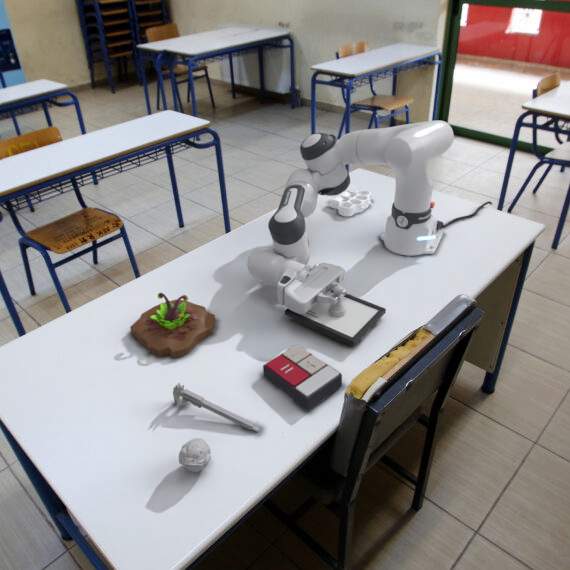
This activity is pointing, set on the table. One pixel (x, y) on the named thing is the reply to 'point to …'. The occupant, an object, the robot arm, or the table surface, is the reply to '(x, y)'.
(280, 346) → the table surface
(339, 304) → the chess piece
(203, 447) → the frog figurine
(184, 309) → the plant
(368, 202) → the white egg carton
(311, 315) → the whiteboard
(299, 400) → the calculator
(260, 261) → the robot arm
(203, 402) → the caliper
